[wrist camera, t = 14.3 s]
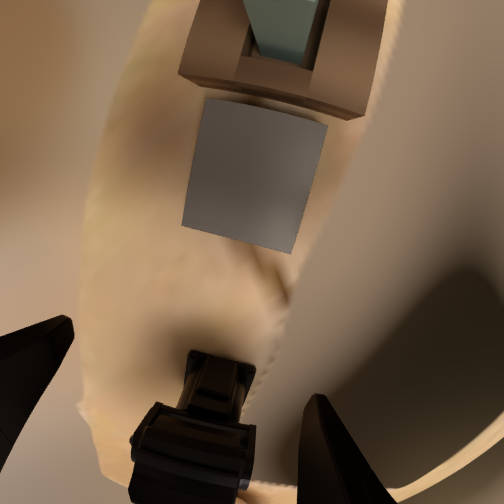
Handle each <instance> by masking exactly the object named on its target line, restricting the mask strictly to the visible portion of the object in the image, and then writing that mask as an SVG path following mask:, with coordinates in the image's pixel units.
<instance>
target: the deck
mask: <svg viewBox="0 0 504 504" xmlns="http://www.w3.org/2000/svg"><path fill="white" fill-rule="evenodd" d="M327 128H328V125H325V124H322V123H318V122H315V121H312V120H308V119H305V118H301V117H297V116H293V115H290V114H286V113H282V112H278V111H274V110H269V109H265V108H260V107H256V106H251V105H246V104H241V103H236V102H231V101H225V100H219V99H213V98H207V99H206V103H205V107H204V111H203V116H202V120H201V124H200V129H199V134H198V138H197V143H196V148H195V153H194V158H193V163H192V168H191V173H190V178H189V184H188V189H187V195H186V201H185V207H184V213H183V219H182V226H185V227H188V228H192V229H196V230H200V231H204V232H208V233H212V234H216V235H219V236H223V237H227V238H231V239H235V240H239V241H242V242H246V243H250V244H254V245H258V246H261V247H265V248H269V249H273V250H277V251H280V252H284V253H288V254H291V252H292V249H293V246H294V243H295V240H296V236H297V233H298V230H299V227H300V223H301V220H302V217H303V213H304V210H305V207H306V203H307V200H308V196H309V193H310V189H311V186H312V183H313V179H314V175H315V172H316V168H317V165H318V161H319V158H320V154H321V150H322V147H323V143H324V139H325V136H326V132H327Z"/></svg>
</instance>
